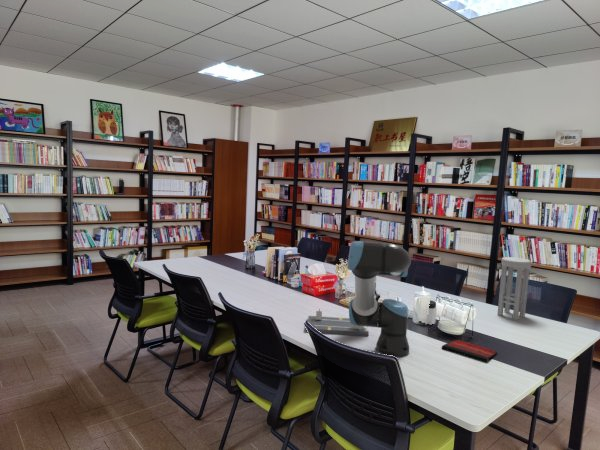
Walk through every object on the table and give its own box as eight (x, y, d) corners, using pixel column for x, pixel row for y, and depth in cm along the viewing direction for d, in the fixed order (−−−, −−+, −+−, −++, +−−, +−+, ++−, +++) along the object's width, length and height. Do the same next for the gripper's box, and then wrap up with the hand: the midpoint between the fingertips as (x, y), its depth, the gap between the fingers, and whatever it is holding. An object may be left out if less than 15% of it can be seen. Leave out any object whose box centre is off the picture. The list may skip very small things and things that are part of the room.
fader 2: (359, 328, 216) (360, 319, 215) (353, 328, 216) (354, 319, 216) (359, 326, 220) (359, 317, 219) (353, 325, 220) (353, 316, 219)
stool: (518, 321, 245) (524, 262, 241) (492, 314, 257) (497, 258, 253) (529, 316, 255) (535, 260, 251) (504, 310, 266) (509, 256, 263)
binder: (487, 358, 186) (441, 345, 200) (486, 364, 186) (441, 350, 200) (498, 350, 198) (455, 338, 212) (498, 355, 198) (454, 342, 212)
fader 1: (321, 319, 227) (321, 311, 227) (316, 319, 228) (316, 310, 227) (321, 317, 231) (322, 308, 231) (316, 317, 232) (316, 308, 231)
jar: (416, 320, 240) (417, 299, 239) (428, 319, 243) (430, 299, 242) (425, 325, 232) (426, 304, 231) (437, 324, 234) (439, 303, 233)
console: (368, 336, 212) (368, 332, 212) (305, 332, 215) (305, 328, 215) (365, 322, 233) (366, 319, 233) (308, 318, 236) (308, 315, 236)
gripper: (380, 280, 218) (378, 323, 221) (355, 278, 219) (353, 322, 222) (382, 283, 210) (379, 328, 213) (356, 282, 212) (353, 327, 215)
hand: (366, 325), depth 218 cm, fingers closed
